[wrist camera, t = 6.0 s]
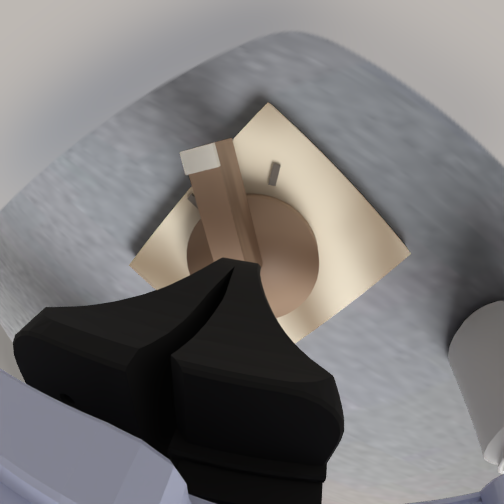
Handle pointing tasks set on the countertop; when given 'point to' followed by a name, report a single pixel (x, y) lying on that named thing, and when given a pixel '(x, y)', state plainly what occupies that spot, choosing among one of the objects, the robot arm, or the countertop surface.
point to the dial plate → (308, 205)
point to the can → (483, 376)
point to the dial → (249, 228)
